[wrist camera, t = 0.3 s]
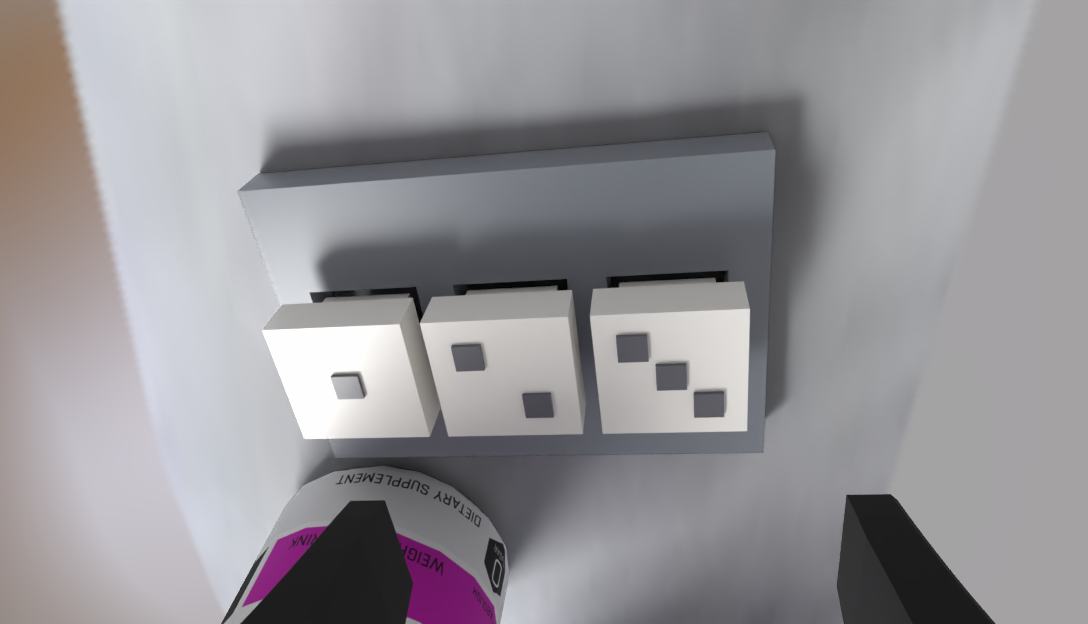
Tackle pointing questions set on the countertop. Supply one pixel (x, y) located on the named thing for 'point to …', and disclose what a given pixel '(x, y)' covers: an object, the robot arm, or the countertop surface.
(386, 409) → the tile one
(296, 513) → the supplement can
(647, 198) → the keypad
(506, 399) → the tile two
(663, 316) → the tile three
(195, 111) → the countertop surface
